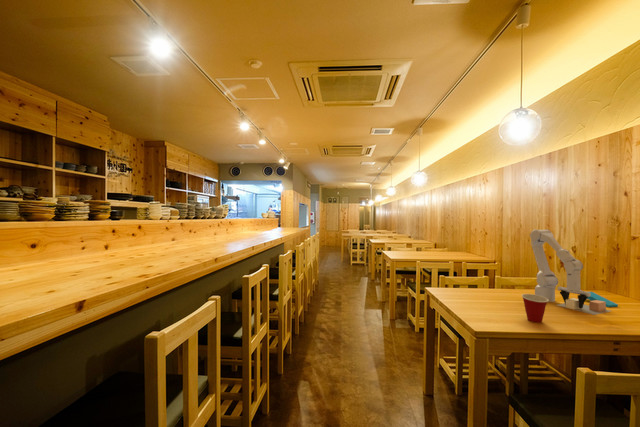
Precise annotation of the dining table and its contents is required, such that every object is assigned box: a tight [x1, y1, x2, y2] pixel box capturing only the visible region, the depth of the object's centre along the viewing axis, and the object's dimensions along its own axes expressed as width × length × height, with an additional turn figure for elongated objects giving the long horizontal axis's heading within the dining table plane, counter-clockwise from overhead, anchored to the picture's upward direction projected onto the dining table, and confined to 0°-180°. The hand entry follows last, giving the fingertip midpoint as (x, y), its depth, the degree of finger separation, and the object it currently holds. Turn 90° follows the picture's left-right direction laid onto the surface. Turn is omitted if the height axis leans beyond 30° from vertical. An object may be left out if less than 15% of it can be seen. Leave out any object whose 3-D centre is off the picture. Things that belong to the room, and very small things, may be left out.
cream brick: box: [566, 297, 580, 310], centre depth 161 cm, size 4×7×4 cm, turn 112°
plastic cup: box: [521, 293, 549, 324], centre depth 143 cm, size 11×11×12 cm
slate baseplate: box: [556, 302, 611, 316], centre depth 161 cm, size 18×17×1 cm
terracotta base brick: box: [588, 300, 607, 312], centre depth 158 cm, size 4×7×4 cm, turn 112°
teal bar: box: [586, 291, 619, 308], centre depth 172 cm, size 7×7×18 cm
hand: (573, 306), depth 161 cm, fingers open, 6 cm apart
